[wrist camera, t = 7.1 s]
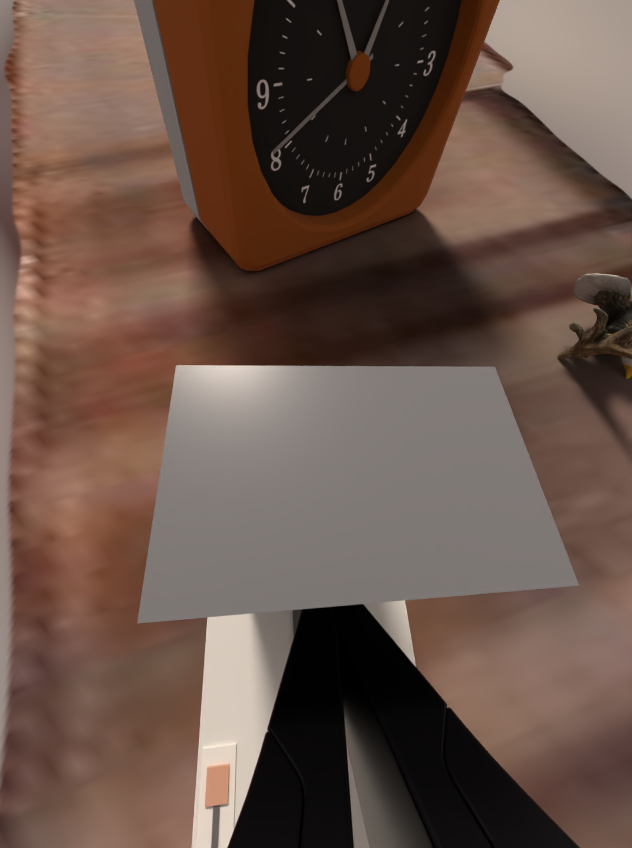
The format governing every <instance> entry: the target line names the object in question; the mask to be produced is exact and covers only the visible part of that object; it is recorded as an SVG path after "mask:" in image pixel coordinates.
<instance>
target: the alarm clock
mask: <svg viewBox="0 0 632 848" xmlns="http://www.w3.org/2000/svg"><path fill="white" fill-rule="evenodd" d="M134 2H135V6H136V10H137V14H138V18H139V22H140V26H141V30H142V34H143V38H144V42H145V46H146V50H147V54H148V58H149V62H150V66H151V70H152V75H153V79H154V83H155V87H156V91H157V95H158V99H159V103H160V107H161V111H162V115H163V119H164V123H165V126H166V130H167V134H168V138H169V142H170V146H171V150H172V154H173V158H174V163H175V167H176V171H177V175H178V179H179V183H180V187H181V191H182V195H183V199H184V202H185V203H186V204H187V206H188V207H189V208H190V210H191V211H192V212H193V213H194V215H195V216H196V217H197V218H198V219H199V220H200V222H201V223H202V224H203V225H204V226H205V227H206V229H207V230H208V231H209V232H210V233H211V234H212V236H213V237H214V238H215V239H216V240H217V241H218V243H219V244H220V245H221V246H222V247H223V248H224V250H225V251H226V252H227V253H228V254H229V255H230V257H231V258H232V259H233V260H234V261H235V262H236V264H237V265H238V266H239V267H240V268H241V269H244V270H251V271H260V270H263V269H265V268H268V267H271V266H273V265H276V264H279V263H281V262H284V261H286V260H289V259H292V258H294V257H297V256H300V255H302V254H305V253H307V252H310V251H313V250H315V249H318V248H320V247H323V246H326V245H328V244H331V243H333V242H336V241H339V240H341V239H344V238H347V237H349V236H352V235H354V234H357V233H360V232H362V231H365V230H368V229H370V228H373V227H376V226H378V225H381V224H383V223H386V222H389V221H391V220H394V219H396V218H399V217H402V216H404V215H407V214H409V213H411V212H413V211H414V210H415V209H416V208H417V207H419V206H420V205H421V203H422V201H423V200H424V198H425V196H426V195H427V193H428V190H429V187H430V185H431V182H432V179H433V177H434V174H435V171H436V169H437V166H438V163H439V161H440V158H441V155H442V153H443V150H444V147H445V145H446V142H447V139H448V137H449V134H450V131H451V129H452V126H453V123H454V121H455V118H456V115H457V113H458V110H459V107H460V105H461V102H462V99H463V97H464V94H465V91H466V89H467V86H468V83H469V81H470V78H471V75H472V73H473V70H474V67H475V65H476V62H477V59H478V57H479V54H480V51H481V49H482V46H483V43H484V41H485V38H486V35H487V32H488V30H489V27H490V24H491V22H492V19H493V16H494V14H495V11H496V9H497V6H498V3H499V0H134Z"/></svg>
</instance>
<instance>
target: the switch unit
mask: <svg viewBox="0 0 632 848" xmlns="http://www.w3.org/2000/svg"><path fill="white" fill-rule="evenodd" d="M364 605H365V607H366V608H367V609H368V610H369V611H370V613H371V614H372V615H373V616H374V617H375V619H376V620H377V621H378V622H379V623H380V625H381V626H382V627H383V628H384V629H385V631H386V632H387V633H388V634H389V635H390V637H391V638H392V639H393V640H394V641H395V643H396V644H397V645H398V646H399V647H400V648H401V650H402V651H403V652H404V653H405V654H406V656H407V657H408V658H409V659H410V660H411V662H412V663H413V664H414V665H415V666H416V664H415V658H414V652H413V646H412V640H411V634H410V628H409V622H408V616H407V610H406V604H405V600H404V601H392V602H380V603H369V604H364ZM301 610H302V609H299V610H287V611H275V612H264V613H252V614H240V615H229V616H217V617H208V619H207V633H206V648H205V662H204V677H203V691H202V706H201V720H200V735H199V750H198V764H197V779H196V793H195V808H194V822H193V837H192V848H227V847H228V844H229V842H230V839H231V836H232V833H233V831H234V828H235V825H236V823H237V820H238V817H239V814H240V812H241V809H242V806H243V804H244V801H245V798H246V795H247V792H248V789H249V786H250V783H251V779H252V776H253V773H254V770H255V767H256V764H257V761H258V757H259V754H260V751H261V747H262V744H263V740H264V737H265V734H266V732H267V727H268V724H269V720H270V717H271V714H272V710H273V707H274V703H275V700H276V696H277V693H278V689H279V686H280V682H281V679H282V675H283V672H284V669H285V665H286V662H287V658H288V655H289V651H290V648H291V644H292V641H293V637H294V634H295V630H296V627H297V624H298V620H299V617H300V613H301ZM346 746H347V745H346ZM347 759H348V773H349V786H350V800H351V813H352V827H353V840H354V848H369V843H368V839H367V834H366V830H365V825H364V821H363V816H362V812H361V807H360V803H359V798H358V794H357V789H356V785H355V781H354V776H353V772H352V767H351V763H350V758H349V754H348V749H347Z"/></svg>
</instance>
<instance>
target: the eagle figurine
mask: <svg viewBox="0 0 632 848" xmlns="http://www.w3.org/2000/svg"><path fill="white" fill-rule="evenodd" d="M630 289H631V285H630V281H629V280H628V279H627V278H622V277H619V276H615V275H606V274H597V273H593V274H585V275H583V276H582V277H581V278H580V279H578V280H577V281H576V282H575V287H574V295H575V297H576V298H578V299H579V300H581V301H584V302H587V303H590V304H593V305H598V306H599V308H594V309H593V310H594V312H595V313H596V315H597V321H596V323H595V325H594V327H593V328H592V329H591V330H590V331H589V332H587V333H586V332H584V330H583V329H582V327H581V326H579V325H578V324H575V323H571V324H570V329H571V330H572V331H574V332H576V333H577V336H578V338H579V341H578V342H577V343H576V344H575V345H573V346H572V347H571V348H570V349H568V350H566V351H564V352H562V353H561V354H559V356H558V359H566V358H575V359H580V358H583V357H585V358H587V357H589V356H593V355H596V354H608V353H610V354H611V355H614V354H615V355H619V356H621V358H622V363H623V365H624V367H625V370H626V376H625V378H627V379H628V378H630V377H631V376H632V296H631V292H630V291H631V290H630Z"/></svg>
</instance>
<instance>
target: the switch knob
mask: <svg viewBox="0 0 632 848" xmlns="http://www.w3.org/2000/svg"><path fill="white" fill-rule="evenodd" d="M567 586H579V584H578V581H577V579H576V576H575V574H574V571H573V568H572V566H571V563H570V561H569V558H568V555H567V553H566V550H565V548H564V545H563V542H562V540H561V537H560V535H559V532H558V529H557V527H556V524H555V522H554V519H553V516H552V514H551V511H550V509H549V506H548V503H547V501H546V498H545V496H544V493H543V490H542V488H541V485H540V483H539V480H538V477H537V475H536V472H535V470H534V467H533V464H532V462H531V459H530V457H529V454H528V451H527V449H526V446H525V444H524V441H523V438H522V436H521V433H520V431H519V428H518V425H517V423H516V420H515V418H514V415H513V412H512V410H511V407H510V405H509V402H508V399H507V397H506V394H505V392H504V389H503V386H502V384H501V381H500V379H499V376H498V373H497V371H496V368H495V367H441V366H211V365H176V370H175V377H174V383H173V390H172V397H171V403H170V410H169V417H168V423H167V430H166V437H165V443H164V450H163V456H162V463H161V470H160V476H159V483H158V490H157V496H156V503H155V509H154V516H153V523H152V529H151V536H150V543H149V549H148V556H147V563H146V569H145V576H144V582H143V589H142V596H141V602H140V609H139V616H138V622H137V623H147V622H159V621H170V620H182V619H194V618H205V617H217V616H229V615H240V614H252V613H264V612H275V611H287V610H299V609H310V608H322V607H334V606H345V605H357V604H369V603H380V602H392V601H404V600H415V599H427V598H439V597H450V596H462V595H474V594H485V593H497V592H509V591H520V590H532V589H544V588H555V587H567Z"/></svg>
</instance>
